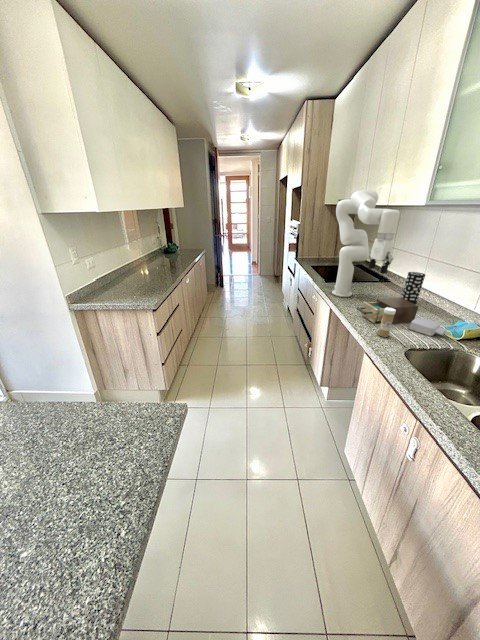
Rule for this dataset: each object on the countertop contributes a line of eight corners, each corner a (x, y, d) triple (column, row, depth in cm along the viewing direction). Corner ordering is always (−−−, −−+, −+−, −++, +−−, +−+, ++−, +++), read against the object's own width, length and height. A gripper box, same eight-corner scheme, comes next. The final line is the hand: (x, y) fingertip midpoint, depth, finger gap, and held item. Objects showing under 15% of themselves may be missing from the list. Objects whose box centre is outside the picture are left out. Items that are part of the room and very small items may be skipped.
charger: (444, 341, 117) (408, 329, 128) (451, 335, 122) (416, 324, 133) (448, 332, 115) (411, 321, 126) (454, 326, 120) (418, 316, 131)
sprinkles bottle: (381, 337, 120) (388, 311, 114) (375, 333, 124) (382, 307, 118) (390, 337, 120) (398, 310, 115) (384, 332, 124) (392, 306, 119)
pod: (368, 314, 139) (370, 305, 137) (375, 314, 140) (377, 305, 138) (373, 317, 136) (375, 308, 133) (380, 317, 136) (382, 308, 134)
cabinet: (388, 323, 133) (392, 307, 130) (373, 314, 145) (377, 298, 141) (413, 322, 136) (418, 306, 132) (396, 312, 147) (401, 297, 143)
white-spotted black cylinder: (403, 302, 161) (412, 271, 152) (417, 307, 154) (428, 274, 146) (396, 305, 157) (405, 273, 148) (410, 310, 150) (421, 276, 142)
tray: (364, 323, 132) (367, 310, 128) (352, 314, 142) (355, 302, 139) (396, 321, 134) (400, 308, 131) (382, 312, 144) (385, 300, 141)
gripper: (367, 234, 135) (361, 267, 143) (390, 239, 120) (381, 275, 127) (380, 234, 136) (373, 266, 144) (404, 239, 121) (395, 274, 128)
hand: (377, 270), depth 135 cm, fingers open, 9 cm apart
